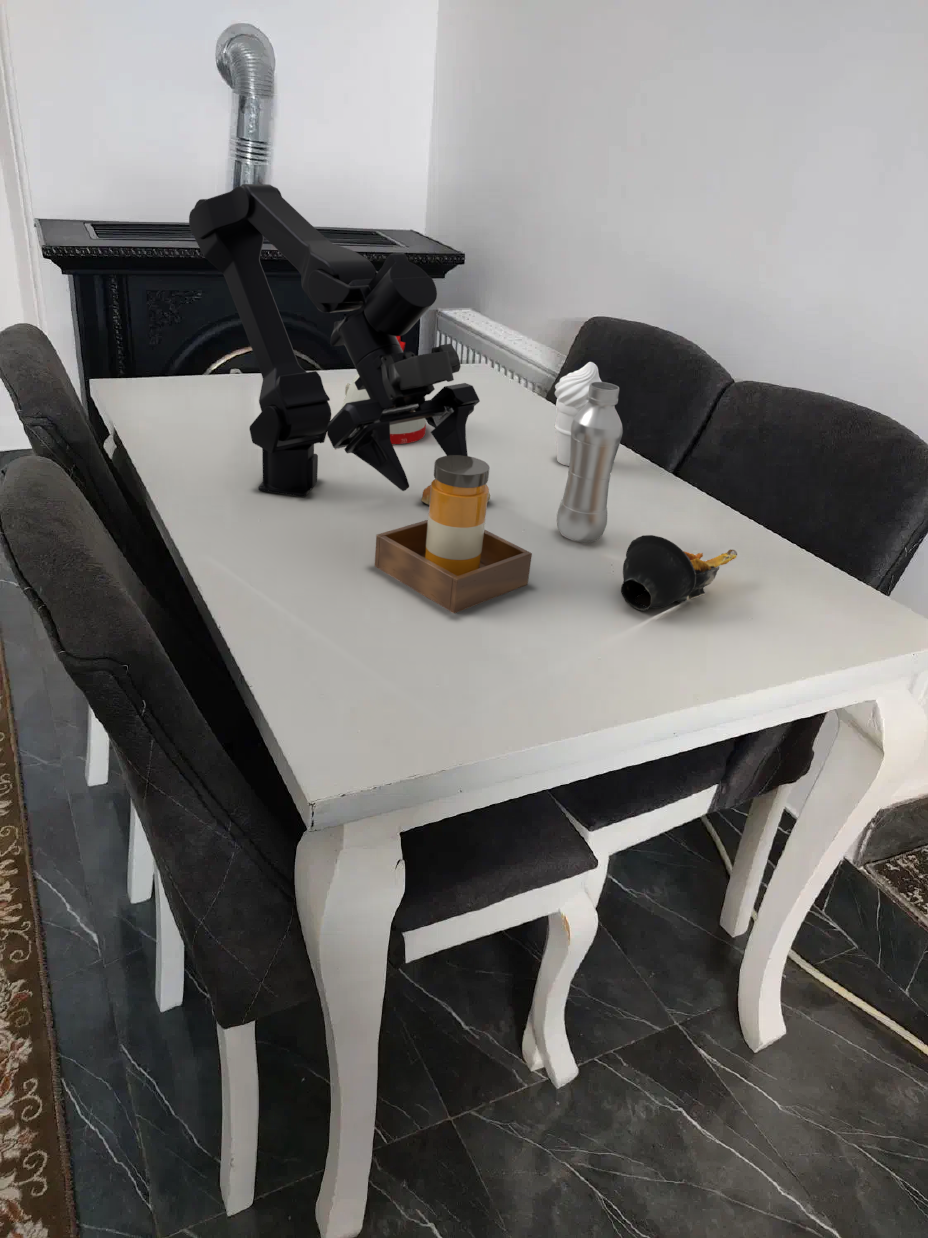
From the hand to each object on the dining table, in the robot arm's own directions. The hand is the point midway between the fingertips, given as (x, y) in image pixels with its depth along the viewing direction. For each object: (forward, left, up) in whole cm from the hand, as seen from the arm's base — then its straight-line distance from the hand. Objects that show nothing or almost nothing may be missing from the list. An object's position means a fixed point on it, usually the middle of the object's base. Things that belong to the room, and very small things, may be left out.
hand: (436, 481), depth 104 cm
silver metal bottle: (+17, +15, -11) cm, 25 cm away
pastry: (0, +21, -11) cm, 23 cm away
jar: (+3, -2, -10) cm, 11 cm away
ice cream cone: (+15, +44, -11) cm, 48 cm away
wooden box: (+3, -2, -11) cm, 11 cm away
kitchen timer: (-16, +47, -11) cm, 50 cm away
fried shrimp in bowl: (+29, +2, -11) cm, 31 cm away
